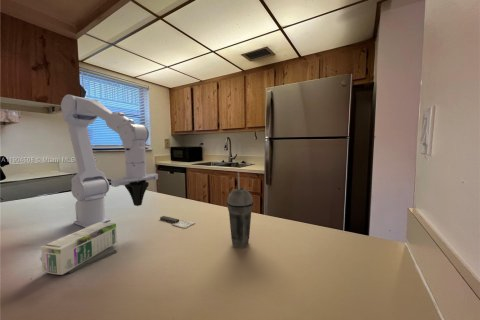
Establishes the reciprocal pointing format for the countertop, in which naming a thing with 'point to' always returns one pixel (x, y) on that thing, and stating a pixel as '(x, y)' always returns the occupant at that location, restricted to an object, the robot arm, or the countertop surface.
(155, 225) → the countertop surface
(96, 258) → the mat
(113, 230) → the syrup box
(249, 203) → the beverage cup
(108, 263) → the countertop surface
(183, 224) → the spatula
